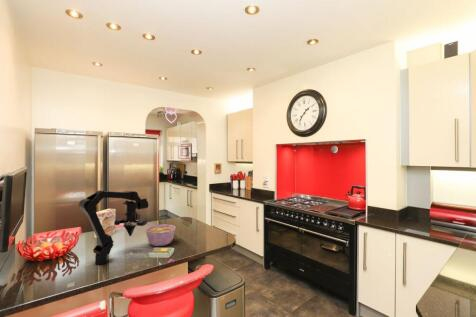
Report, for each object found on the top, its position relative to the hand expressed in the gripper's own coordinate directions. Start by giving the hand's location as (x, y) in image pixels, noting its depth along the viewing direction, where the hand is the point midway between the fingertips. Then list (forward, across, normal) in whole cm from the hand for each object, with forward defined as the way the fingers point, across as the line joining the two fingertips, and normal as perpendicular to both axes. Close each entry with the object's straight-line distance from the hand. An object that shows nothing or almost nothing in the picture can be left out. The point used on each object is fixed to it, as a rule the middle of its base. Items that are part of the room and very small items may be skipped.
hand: (130, 235), depth 144 cm
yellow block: (+11, -22, 0) cm, 24 cm away
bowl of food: (+12, -13, -18) cm, 25 cm away
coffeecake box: (+12, +38, -34) cm, 52 cm away
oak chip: (+11, -18, +1) cm, 21 cm away
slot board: (+12, -7, +1) cm, 14 cm away
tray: (+12, -20, 0) cm, 23 cm away
